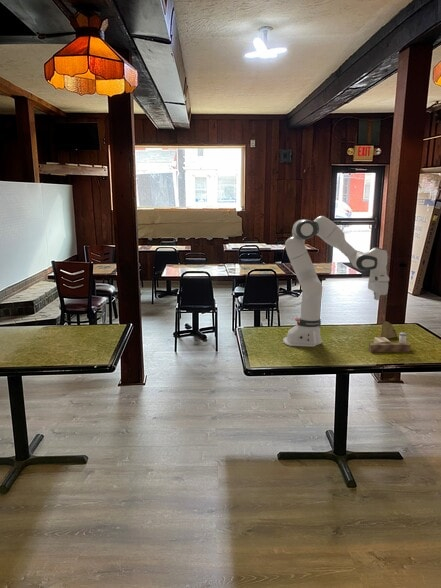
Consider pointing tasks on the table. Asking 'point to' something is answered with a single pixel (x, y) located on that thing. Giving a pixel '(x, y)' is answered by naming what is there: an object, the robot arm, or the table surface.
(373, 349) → the brown wooden bar
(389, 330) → the rock
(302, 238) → the robot arm
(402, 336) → the salt shaker
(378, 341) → the maple block
